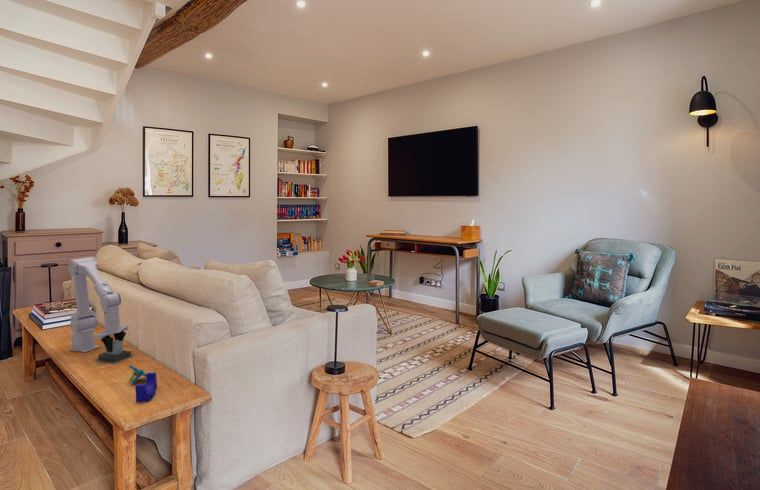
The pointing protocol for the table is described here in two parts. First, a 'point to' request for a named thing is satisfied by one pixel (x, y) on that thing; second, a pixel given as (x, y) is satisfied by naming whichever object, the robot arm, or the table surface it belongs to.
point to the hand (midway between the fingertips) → (114, 350)
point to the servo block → (115, 348)
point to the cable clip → (146, 388)
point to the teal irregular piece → (136, 374)
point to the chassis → (114, 357)
